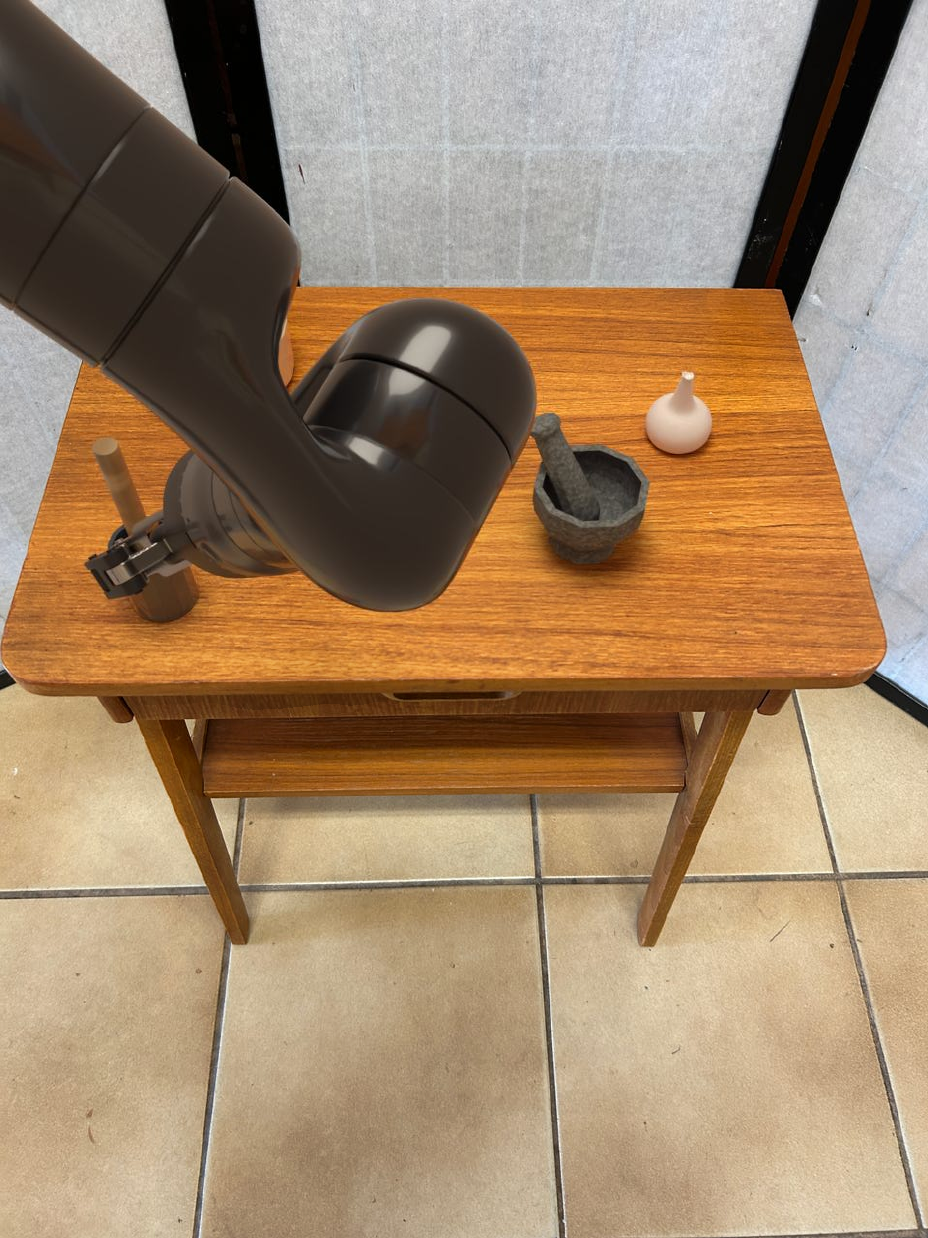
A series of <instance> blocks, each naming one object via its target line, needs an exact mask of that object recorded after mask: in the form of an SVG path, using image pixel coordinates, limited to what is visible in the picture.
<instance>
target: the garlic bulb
mask: <svg viewBox="0 0 928 1238" xmlns="http://www.w3.org/2000/svg"><path fill="white" fill-rule="evenodd" d="M694 379H695V373H693V371H691V372H688V371H682V373H681V377H680V379H679V380H678V384H677V385H676V388H675V391H674V392H670V393H667V394H664V395H662V396H660V397H659V398H658V399H656V400H655V401H654V402H653V403H652V404H651V406H650V407H649V409H648V410H647V413H646V416H645V422H644V423H645V424H644V427H645V433H646V435H647V437H648V439H649V441H650V443H652V444H653V445H654V446H655V447H656V448H657V449H659V450H661V451H663V452H666V453H669V454H675V455H684V454H689V453H692V452H694V451H696V450H698V449H700V448H702V446H703V445H704V444H705V443H706V442H707V440H708V439H709V437H710V435H711V432H712V428H713V419H712V418H713V417H712V414H711V410H710V409H709V407H708V406H707V404H706V403H705V401H702V399H700V398H699V397H698V396H696V395H694Z"/></svg>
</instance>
